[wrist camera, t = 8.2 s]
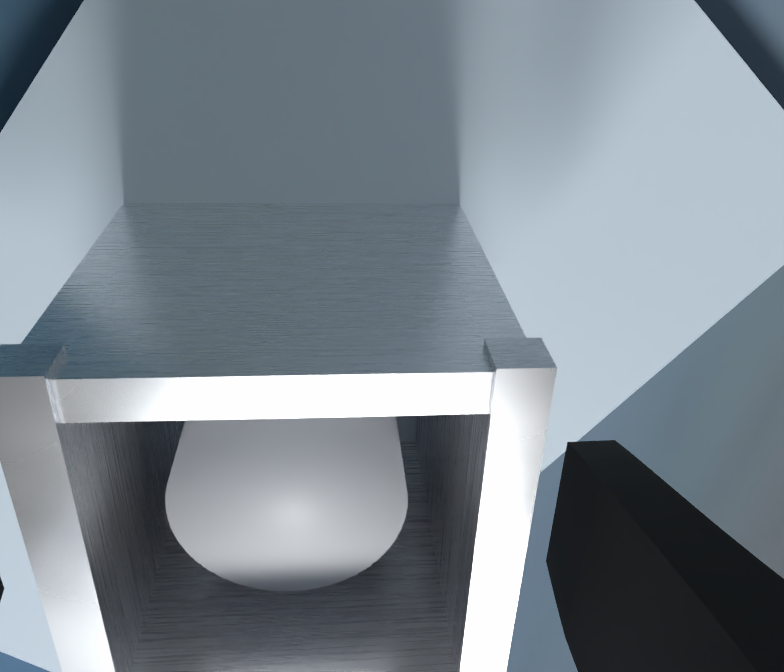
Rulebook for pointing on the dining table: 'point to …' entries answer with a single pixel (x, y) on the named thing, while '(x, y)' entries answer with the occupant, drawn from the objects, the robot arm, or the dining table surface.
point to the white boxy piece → (270, 401)
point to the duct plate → (396, 186)
